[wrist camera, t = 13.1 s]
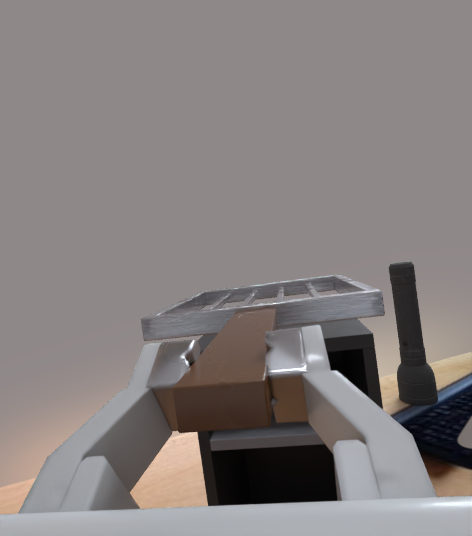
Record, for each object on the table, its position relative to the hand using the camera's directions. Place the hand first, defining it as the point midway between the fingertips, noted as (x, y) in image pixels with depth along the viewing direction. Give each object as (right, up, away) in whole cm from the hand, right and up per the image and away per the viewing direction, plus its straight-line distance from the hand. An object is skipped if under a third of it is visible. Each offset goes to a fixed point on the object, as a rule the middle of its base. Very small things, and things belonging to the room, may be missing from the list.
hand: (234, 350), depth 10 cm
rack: (+1, -1, +9) cm, 9 cm away
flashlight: (+38, -25, +62) cm, 76 cm away
